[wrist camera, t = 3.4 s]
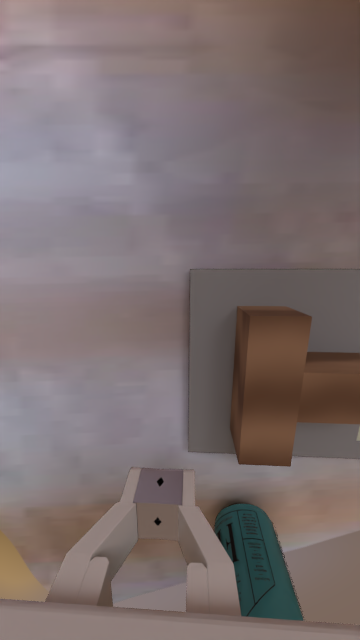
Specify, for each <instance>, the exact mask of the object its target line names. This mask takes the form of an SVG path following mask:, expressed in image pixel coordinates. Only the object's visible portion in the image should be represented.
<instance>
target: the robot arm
mask: <svg viewBox="0 0 360 640" xmlns="http://www.w3.org/2000/svg"><path fill="white" fill-rule="evenodd" d="M138 538H139V539H165V540H175V541H178V542H179V545H180V547H181V550H182V552H183V555H184V557H185V560H186V563H187V565H188V567H187V593H186V612H176V611H162V610H148V609H134V608H119V607H113V602H112V591H111V581H112V579H113V577H114V576H115V574H116V573H117V571H118V570H119V568H120V567H121V565H122V564H123V562H124V561H125V559H126V558H127V556H128V555H129V553H130V551H131V550H132V548H133V547H134V545H135V544H136V542H137V541H138ZM0 640H360V625H353V624H339V623H326V622H311V621H299V620H285V619H271V618H257V617H244V616H241V611H240V604H239V597H238V591H237V584H236V577H235V570H234V564H233V562H232V561H231V559H230V557H229V556H228V554H227V552H226V551H225V549H224V547H223V546H222V544H221V543H220V541H219V539H218V538H217V536H216V534H215V533H214V531H213V529H212V528H211V526H210V524H209V523H208V521H207V519H206V518H205V516H204V514H203V513H202V511H201V509H200V508H199V506H195V471H194V470H184V472H183V469H154V468H137V467H131V469H130V471H129V474H128V477H127V480H126V484H125V487H124V490H123V493H122V496H121V499H120V502H116V503H115V504H114V505H113V506H112V507H111V508H110V509H109V510H108V511H107V512H106V513H105V514H104V515H103V517H102V518H101V519H100V520H99V521H98V522H97V523H96V524H95V525H94V526H93V527H92V528H91V529H90V530H89V531H88V532H87V533H86V534H85V535H84V536H83V537H82V538H81V539H80V540H79V541H78V542H77V543H76V544H75V545H74V546H73V547H72V548H71V549H70V550H69V551H68V552H67V554H66V556H65V558H64V560H63V563H62V565H61V567H60V569H59V572H58V574H57V576H56V578H55V581H54V583H53V585H52V587H51V590H50V592H49V594H48V596H47V598H46V601H45V602H38V601H37V602H36V601H24V600H10V599H0Z"/></svg>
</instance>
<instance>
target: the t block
mask: <svg viewBox="0 0 360 640" xmlns="http://www.w3.org/2000/svg"><path fill="white" fill-rule="evenodd" d="M311 322H312V316H309V315H307V314H304V313H302V312H299V311H297V310H294V309H292V308H289V307H287V306H237V322H236V338H235V354H234V370H233V386H232V402H231V418H230V430H231V435H232V439H233V443H234V447H235V451H236V455H237V459H238V463H239V464H246V465H269V466H291V459H292V452H293V445H294V439H295V432H296V425H297V422H302V423H331V424H360V353H344V352H307V349H308V342H309V336H310V329H311Z"/></svg>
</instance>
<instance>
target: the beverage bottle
mask: <svg viewBox="0 0 360 640" xmlns="http://www.w3.org/2000/svg"><path fill="white" fill-rule="evenodd" d="M272 523H273V522H271V520H270V519H269V517H268V516H267V514H266V513H265V512H264V511H263V510H262V509H260V508H258V507H256V506H254V505H250V504H235V505H231V506H228V507H226V508H225V509H223V510H222V511H221V512H220V513H219V514H218V515H217V517H216V520H215V525H214V526H215V528H214V529H213V530H215V531H214V532H215V534H216V536H217V538H218V539H219V541H220V543H221V544H222V546H223V547H224V549H225V551H226V552H227V554H228V556H229V557H230V559H231V561H232V562H233V564H234V570H235V577H236V584H237V591H238V597H239V604H240V611H241V616H244V617H257V618H271V619H285V620H299V621H303V617H302V614H301V611H300V608H299V606H300V605H298V603H299V602H297V601H298V600H297V598H296V595H295V592H294V589H293V586H292V583H291V580H290V577H289V574H288V571H287V568H286V565H285V562H284V559H283V556H282V554H283V553H282V550H281V549H280V548H281V547H280V546H279V545H280V544H279V543H278V542H280V541H278V540H277V539H278V538H277V537H276V536H278V535H276V534H275V531H274V527H273V524H272ZM276 533H277V532H276ZM284 558H285V557H284Z"/></svg>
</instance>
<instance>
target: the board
mask: <svg viewBox="0 0 360 640" xmlns="http://www.w3.org/2000/svg"><path fill="white" fill-rule="evenodd" d="M237 306H287V307H289V308H292V309H294V310H297V311H299V312H302V313H304V314H307V315H309V316H312V322H311V329H310V336H309V342H308V349H307V352H344V353H360V269H190V350H189V444H188V452H204V453H229V454H236V451H235V447H234V443H233V439H232V435H231V430H230V418H231V402H232V386H233V370H234V354H235V338H236V322H237ZM292 456H301V457H326V458H350V459H360V424H331V423H302V422H297V425H296V432H295V439H294V445H293V452H292Z"/></svg>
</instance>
